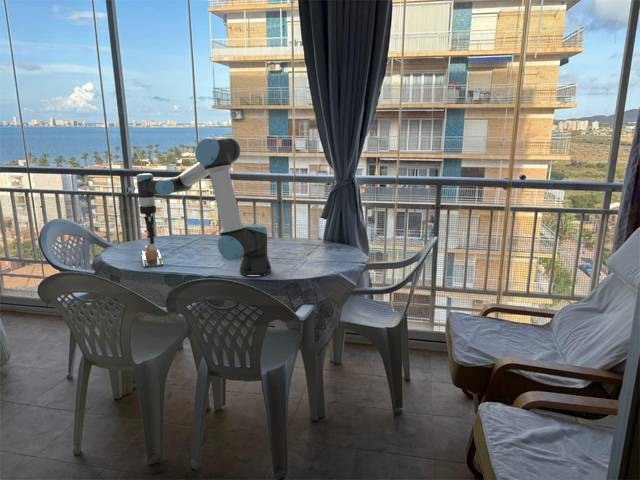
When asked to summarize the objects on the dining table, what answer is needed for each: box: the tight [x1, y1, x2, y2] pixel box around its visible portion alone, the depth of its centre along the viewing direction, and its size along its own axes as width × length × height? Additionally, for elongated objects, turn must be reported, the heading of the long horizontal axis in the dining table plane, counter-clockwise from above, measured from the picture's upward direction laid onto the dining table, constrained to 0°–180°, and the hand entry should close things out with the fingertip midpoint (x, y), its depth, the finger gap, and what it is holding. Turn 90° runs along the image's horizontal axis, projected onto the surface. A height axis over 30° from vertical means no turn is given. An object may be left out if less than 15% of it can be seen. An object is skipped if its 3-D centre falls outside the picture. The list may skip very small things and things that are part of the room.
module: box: [144, 244, 158, 261], centre depth 224 cm, size 4×5×8 cm
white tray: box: [141, 249, 164, 269], centre depth 225 cm, size 20×9×4 cm, turn 24°
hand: (151, 246), depth 223 cm, fingers open, 13 cm apart
